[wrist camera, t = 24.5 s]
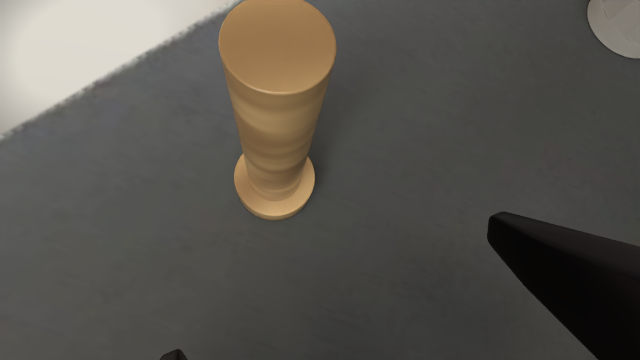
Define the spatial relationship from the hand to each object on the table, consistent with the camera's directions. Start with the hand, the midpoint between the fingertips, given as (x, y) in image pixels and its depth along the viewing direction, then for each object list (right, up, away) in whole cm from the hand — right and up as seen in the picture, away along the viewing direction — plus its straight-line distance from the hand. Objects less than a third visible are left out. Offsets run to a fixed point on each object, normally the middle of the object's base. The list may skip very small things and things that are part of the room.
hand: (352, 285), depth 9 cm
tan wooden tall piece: (-4, +3, +11) cm, 12 cm away
